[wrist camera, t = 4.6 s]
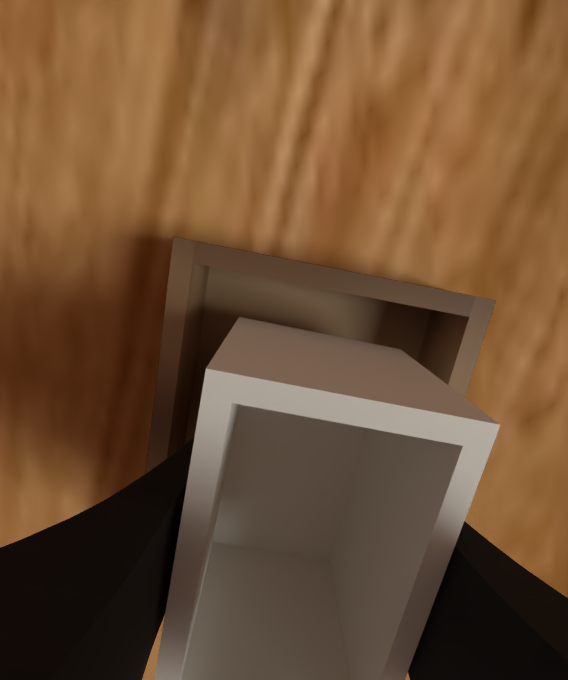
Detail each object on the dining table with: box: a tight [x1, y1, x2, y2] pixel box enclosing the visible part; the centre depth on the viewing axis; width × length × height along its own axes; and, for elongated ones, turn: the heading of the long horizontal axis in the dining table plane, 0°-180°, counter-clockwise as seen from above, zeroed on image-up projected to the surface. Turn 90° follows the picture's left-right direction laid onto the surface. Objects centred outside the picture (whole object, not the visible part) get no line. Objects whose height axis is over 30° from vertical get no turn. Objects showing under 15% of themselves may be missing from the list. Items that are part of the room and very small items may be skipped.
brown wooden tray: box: [146, 237, 496, 473], centre depth 13 cm, size 12×9×3 cm
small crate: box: [154, 317, 500, 680], centre depth 9 cm, size 8×5×5 cm, turn 168°
